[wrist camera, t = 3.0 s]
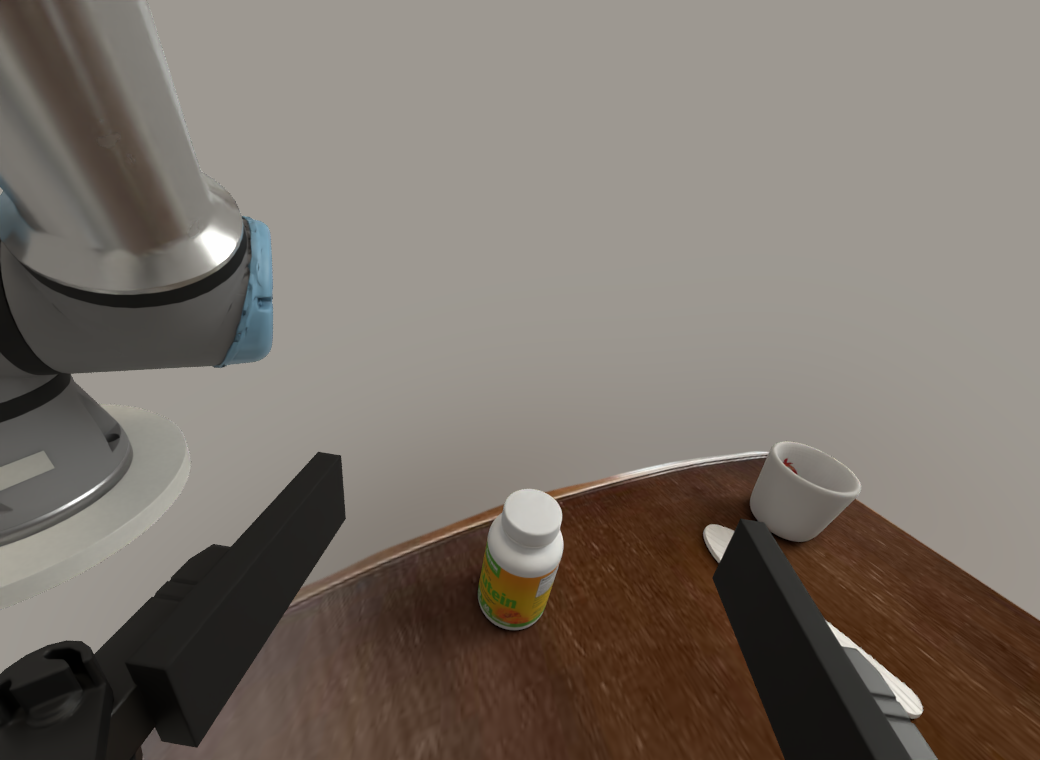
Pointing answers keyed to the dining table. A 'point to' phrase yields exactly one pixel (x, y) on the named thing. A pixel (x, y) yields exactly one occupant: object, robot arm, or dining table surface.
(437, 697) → the dining table surface
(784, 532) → the cup
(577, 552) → the dining table surface
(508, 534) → the supplement bottle
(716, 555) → the spoon
